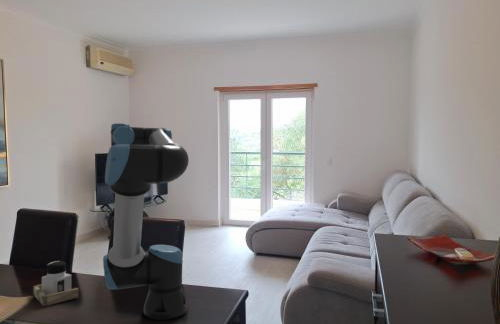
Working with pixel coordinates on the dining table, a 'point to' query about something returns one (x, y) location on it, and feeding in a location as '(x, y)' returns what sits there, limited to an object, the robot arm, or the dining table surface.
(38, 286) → the corral
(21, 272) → the dining table surface
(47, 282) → the container
